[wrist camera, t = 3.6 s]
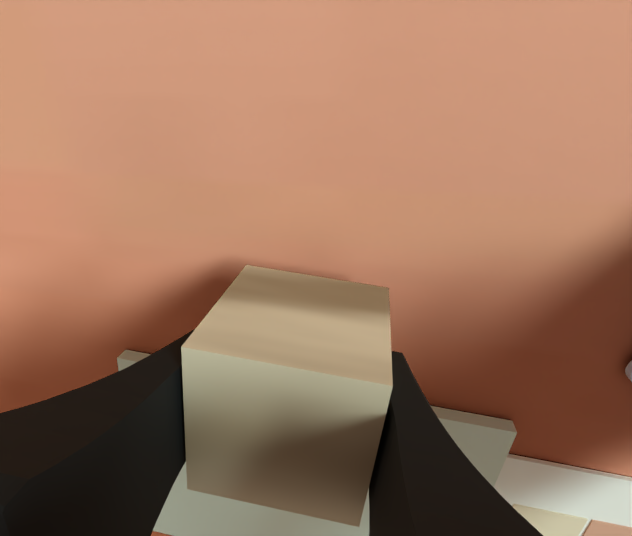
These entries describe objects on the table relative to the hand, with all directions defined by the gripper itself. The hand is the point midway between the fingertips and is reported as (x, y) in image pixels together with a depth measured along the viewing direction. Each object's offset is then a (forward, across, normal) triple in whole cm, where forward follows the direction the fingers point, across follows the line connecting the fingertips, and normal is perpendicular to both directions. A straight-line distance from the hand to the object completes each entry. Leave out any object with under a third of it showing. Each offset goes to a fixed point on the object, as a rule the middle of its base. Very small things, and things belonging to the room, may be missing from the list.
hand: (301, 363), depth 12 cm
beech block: (+1, 0, 0) cm, 1 cm away
